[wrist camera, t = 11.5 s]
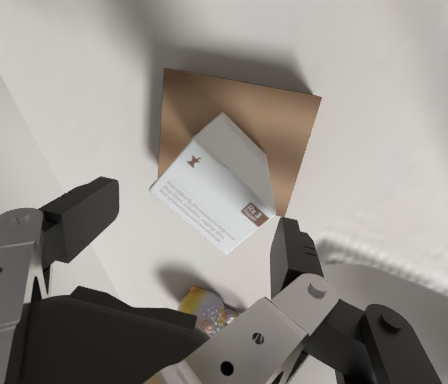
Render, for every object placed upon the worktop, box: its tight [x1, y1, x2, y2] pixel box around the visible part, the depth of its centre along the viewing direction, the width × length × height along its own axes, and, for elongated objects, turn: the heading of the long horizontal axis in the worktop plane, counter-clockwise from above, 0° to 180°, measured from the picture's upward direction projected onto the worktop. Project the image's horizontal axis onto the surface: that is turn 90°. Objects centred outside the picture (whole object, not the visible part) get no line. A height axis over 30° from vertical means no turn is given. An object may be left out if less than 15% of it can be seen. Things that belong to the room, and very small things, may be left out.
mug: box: [177, 286, 240, 338], centre depth 36 cm, size 12×7×7 cm, turn 73°
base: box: [158, 68, 322, 217], centre depth 26 cm, size 12×14×4 cm
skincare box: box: [149, 112, 276, 254], centre depth 19 cm, size 6×4×12 cm
